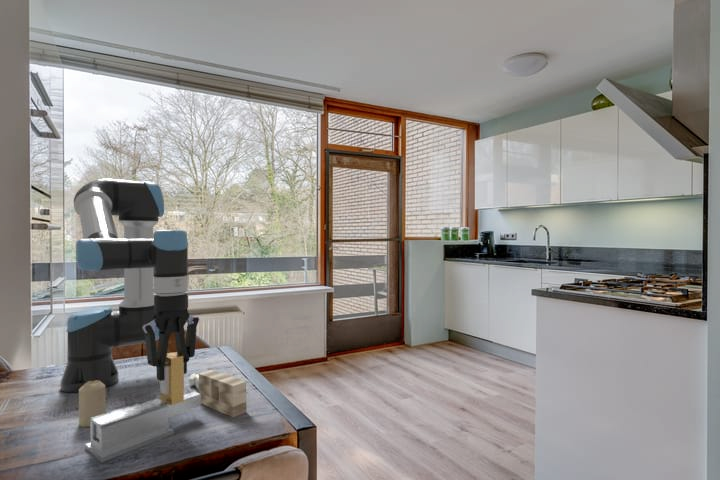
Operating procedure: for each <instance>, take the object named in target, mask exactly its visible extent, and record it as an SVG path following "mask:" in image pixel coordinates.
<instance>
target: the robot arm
mask: <svg viewBox="0 0 720 480" xmlns="http://www.w3.org/2000/svg"><path fill="white" fill-rule="evenodd" d="M73 208H74V210H75V211H74V212H76V214H77V215H78V216H79V219H80V220H79V221H80V227H81V230H82V232H81V233H82V238H80V239H78V240H77V241H76V243H75V261H76V268H77V269H78V270H80V271H95V272H98V271H108V270H123V274H124V276H123V278H124V281H123V283H124V286H123V288H124V296H123V297H124V298H123V300H122V301H121V302H120V303H119V304H118V309H117V310H113V309H112V307H110V306H102V307H101V306H99V307H92V308H88V309H85V310H80V311H78V312H74V313H72V314H71V315H70V316H69V317H68V318H67V324H66V325H67V326H66V332H65V333H67V336H66V337H67V338H66V339H67V355H66V356H67V361H66V362H67V363H66V365H65V368H64V371H63V375H62V377H61V380H60V390H61V392H64V393H79V389H80V388H81V387H82V386H83V385H84V384H85V383H87V382H88V381H95V380H98V381H100V382H102V383H103V384H104V385H105V388H107V387H110V386H111V385H115V383H117V382H118V381H119V371H118V368H117V366H116V363H115V360H114V359H113V353H112V351H113V348H119V347H127V346H133V345H139V344H145V347H146V348H145V350H146V358H147V359H146V360H147V365H149V366H152V367H155V368H156V379H157V381H159V387H160V388H159V389H160V391H159V392H160V394H161V393H163V394H169V366H166V365H165V364H166V357H167V354H168V348H169V342H170V338H171V334H173V335H174V341H175V346H176V348H175V349H176V354H179V355H182V356H183V377H184V378H185V375H186V374H187V372H188V362H189V361H190V358H194V357H195V354H196V340H197V326H198V324H199V322H200V318H199V317H198V316H194V315H190V313H189V310H188V308H189V294H188V293H187V292H188V291H189V277H188V276H189V275H188V273H189V272H188V271H189V267H188V266H189V265H188V263H189V259H188V257H189V256H188V254H189V251H188V248H189V242H188V234H187V231H185V230H183V229H180V230H179V229H161V230H160V229H158V230H155V231H154V227H155V226H156V225H157V224H158V223H159V218H161V217H164V214H165V201H164V195H163V191H162V189H161V187H160V186H159V184H158V183H157V182H153V181H148V180H147V181H146V180H136V179H135V180H134V179H133V180H132V179H118V178H117V179H116V178H115V179H114V178H99V179H96V180H92V181H90V182H88V183H86V184H84V185H83V186H81V187H80V188H79V189H78V191H77V192H76V193H75V195H74V197H73ZM113 216H117V217H118V222H119V224H121V225H122V226H123V238H119V236H118V231H117V229H116V225H115V222H114V218H113ZM154 294H155V295H154ZM186 323H187V325H186ZM185 325H186V334H185ZM157 340H158V342H157Z"/></svg>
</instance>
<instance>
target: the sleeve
mask: <svg viewBox="0 0 720 480" xmlns="http://www.w3.org/2000/svg"><path fill="white" fill-rule="evenodd" d="M169 418H170V417H169V410H168V403H166V402H164V401H162V400H161V398H158V397H154V398H153V397H152V398H150V399H146V400H144V401H141V402H137V403H134V404H131V405H128V406H127V405H126V406H124V407H120V408H118V409H115V410H112V411H108V412H106V413H105V414H101V415H98V416H95V417H92V418H90V427H89V431H90V433H89V434H90V442H87V443H85V445H84V447H85V451H87V452H88V453H90V454H91V455H93V456H94V457H95V459H97V460H98V461H99V462H101V463H104V462H107V461H109V460H111V459H115V458H117V457H120V456H122V455H125V454H127V453H130V452H132V451H135V450H138V449H140V448H143V447H145V446H147V445H151V444H152V443H155V442H158V441H160V440H162V439H165V438H167V437H170V436H173V435H174V434H175V429H173V428H172V427H170V424H169V423H170V422H169ZM96 425H97V426H99V439H98V438H96Z"/></svg>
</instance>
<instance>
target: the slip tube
mask: <svg viewBox="0 0 720 480" xmlns="http://www.w3.org/2000/svg"><path fill="white" fill-rule="evenodd" d="M165 365H166V366H169V394H163V393H161V392H160V396H161V397H160V400H162V401H164V402H166V403H168V410H169V418H170V417H174V416H177V415H178V414H182V413H184V412H187V411H191V410H193V409H196V408H199V407H201V406H202V404H201V394H199V392H198V391H192V392H188V393H185V394H184V392H185V376H184V377H183V356H182V355H179V354H177V352H169V353H168V352H167V357H166V364H165ZM96 438H98V439H99V426H97V425H96Z"/></svg>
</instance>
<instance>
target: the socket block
mask: <svg viewBox="0 0 720 480" xmlns="http://www.w3.org/2000/svg"><path fill="white" fill-rule="evenodd" d="M197 374H198V389H197V392H198V393H199V394H201V405H204V406H206V407H209V408H211V409H213V410H216V411H218V412H220V413H221V414H225V415H227V416H229V417H231V418H236V417H238V416H241V415H243V414H246V413H247V381H245V380H243V379H240V378H237V377H234V376H231V375H228V374H225V373H222V372H219V371H216V370H213V369H210V370H209V369H208V370H206V371H202V372H199V373H197Z"/></svg>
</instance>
